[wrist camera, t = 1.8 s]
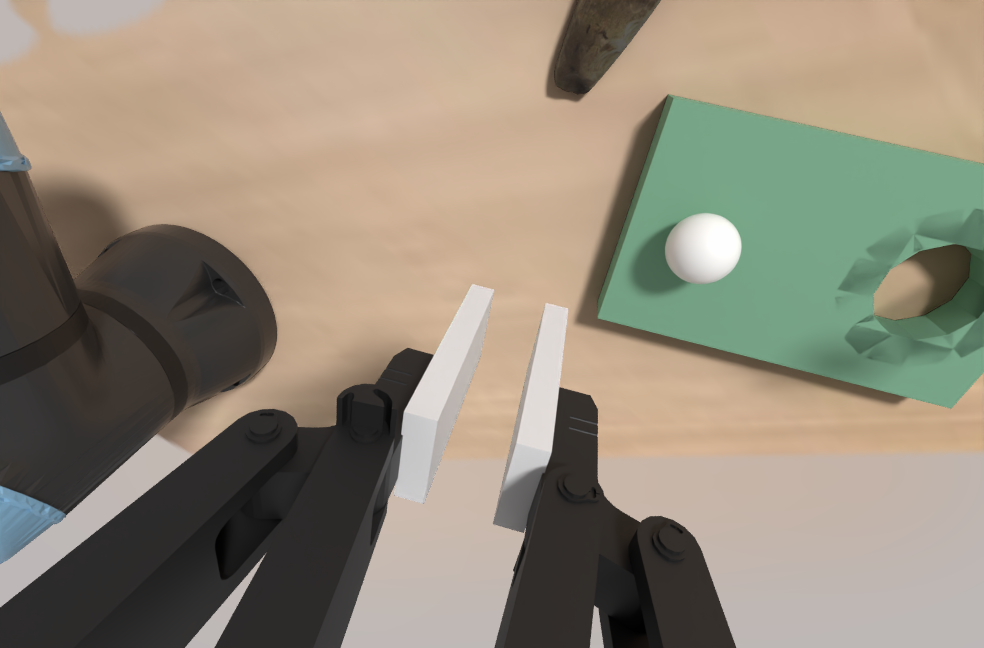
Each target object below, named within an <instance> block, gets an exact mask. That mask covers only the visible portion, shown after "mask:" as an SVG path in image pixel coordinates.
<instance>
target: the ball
mask: <svg viewBox="0 0 984 648" xmlns="http://www.w3.org/2000/svg"><path fill="white" fill-rule="evenodd" d="M741 248H742V247H741V238H740V235H739V233H738V231H737V229H736V228H735V226H734V225H733V224H732V223H731V222H730V221H728V220H727V219H725V218H724V217H722V216H719V215H716V214H711V213H700V214H695V215H692V216H689V217H687V218H685V219H683V220H682V221H680V222H679V223H678V224H677V225H676V226H675V227H674V228H673V229H672V230H671V232H670V234H669V236H668V238H667V241H666V245H665V257H666V261H667V263H668V266H669V267H670V269H671V270H672V272H673V273H674V274H675V275H677V276H678V277H679V278H681V279H682V280H684V281H687V282H690V283H694V284H708V283H712V282H715V281H718V280H720V279H722V278H723V277H725V276H726V275H728V274H729V273H730V272H731V271H732V270H733V269H734V267H735V266H736V264H737V263H738V260H739V258H740V254H741Z"/></svg>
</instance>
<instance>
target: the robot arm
mask: <svg viewBox="0 0 984 648" xmlns="http://www.w3.org/2000/svg"><path fill="white" fill-rule="evenodd" d="M31 168H32V167H31V164H30V162H29V160H28V158H26V157H25V156H24V155H22V154H21V153H20V151H19V149H18V147H17V145H16V143H15V141H14V138H13V136H12V134H11V132H10V130H9V128H8V126H7V124H6V122H5V120H4V118H3V116H2V114H1V112H0V564H1V563H3V562H4V561H6V560H8V559H10V558H11V557H12V556H13V555H15V554H16V553H17V552H18V551H20V550H21V549H22V548H24V547H25V546H26V545H28V544H29V543H30V542H31V541H33V540H34V539H35V538H36V537H38V536H39V535H40V534H41V533H43V532H44V531H45V530H47V529H48V528H49V527H50V526H52V525H53V524H57V523H59V522H61V521H62V520H63V518H64V517H66V515H67V514H68V513H69V512H70V511H72V510H73V509H74V508H75V507H76V506H77V505H78V504H79V503H80V502H82V501H83V500H84V499H85V498H86V497H87V496H88V495H89V494H90V493H92V492H93V491H94V490H95V489H96V488H97V487H98V486H99V485H100V484H101V483H102V482H104V481H105V480H106V479H107V478H108V477H109V476H110V475H111V474H112V473H114V472H115V471H116V470H117V469H118V468H119V467H120V466H121V465H123V464H124V463H125V462H126V461H127V460H128V459H129V458H130V457H131V456H132V455H134V454H135V453H136V452H137V451H138V450H139V449H140V448H141V447H142V446H144V445H145V444H146V443H147V442H148V441H149V440H150V439H151V438H152V437H154V436H155V435H156V434H157V433H158V432H159V431H160V430H161V429H162V428H163V427H165V426H166V425H167V424H168V423H169V422H170V421H171V420H172V419H174V418H175V417H176V416H177V415H178V414H179V413H181V412H182V411H183V410H184V409H187V408H189V407H191V406H194V405H196V404H198V403H201V402H203V401H205V400H207V399H209V398H211V397H213V396H215V395H217V394H218V393H220V392H225V391H228V390H231V389H234V388H236V387H238V386H240V385H242V384H244V383H245V382H247V381H248V380H249V379H251V378H252V377H253V376H254V375H255V374H256V373H257V372H258V371H259V370H260V369H261V368H262V367H263V366H264V365H265V364H266V363H267V362H268V361H269V359H270V358H271V356H272V354H273V352H274V349H275V345H276V338H277V328H276V320H275V316H274V312H273V309H272V306H271V304H270V301H269V299H268V297H267V295H266V293H265V291H264V289H263V288H262V286H261V285H260V283H259V281H258V280H257V279H256V277H255V276H254V275H253V273H252V272H251V271H250V270H249V269H248V268H247V266H246V265H245V264H244V263H243V262H242V261H241V260H240V259H239V258H238V257H236V256H235V255H234V254H233V253H232V252H231V251H229V250H228V249H227V248H225V247H224V246H223V245H221V244H220V243H218V242H217V241H215V240H213V239H211V238H210V237H208V236H206V235H204V234H202V233H199V232H197V231H194V230H191V229H188V228H185V227H181V226H176V225H166V224H161V225H152V226H147V227H144V228H141V229H139V230H136V231H134V232H131V233H129V234H126V235H124V236H122V237H120V238H118V239H116V240H115V241H113V242H112V243H110V244H109V245H108V246H107V247H106V248H105V249H104V250H103V252H102V253H101V254H100V255H99V256H98V258H97V259H96V260H95V261H94V262H93V263H92V264H91V265H90V266H88V267H87V268H86V269H85V270H84V271H83V272H82V273H81V274H80V275H79V276H78V277H77V278H75V279H74V280H73V279H72V276H71V274H70V272H69V269H68V267H67V265H66V262H65V260H64V257H63V255H62V253H61V250H60V248H59V246H58V243H57V241H56V239H55V236H54V234H53V232H52V229H51V227H50V225H49V222H48V220H47V218H46V215H45V213H44V211H43V208H42V206H41V204H40V201H39V199H38V196H37V194H36V191H35V189H34V186H33V184H32V181H31V179H30V177H29V174H28V172H27V170H30V169H31ZM493 295H494V290H493V289H489V288H485V287H482V286H478V285H474V284H472V286H471V287H470V289H469V291H468V293H467V295H466V297H465V299H464V301H463V302H462V304H461V306H460V308H459V310H458V312H457V314H456V315H455V317H454V319H453V321H452V323H451V325H450V327H449V328H448V330H447V332H446V334H445V336H444V338H443V340H442V342H441V343H440V345H439V347H438V349H437V351H436V353H435V355H432V354H428V353H424V352H421V351H417V350H413V349H409V348H407V349H405V350H403V351H402V352H400V353H398V354H397V355H395V356H394V357H393V358H392V360H391V361H390V363H389V364H388V366H387V368H386V369H385V370H384V372H383V374H382V375H381V377H380V379H379V380H378V381H377V383H376V384H375V385H374V384H361V385H355V386H352V387H350V388H348V389H346V390H344V391H343V392H342V393H341V394H340V395H339V396H338V397H337V422H336V425H335V426H331V427H322V428H309V427H297V423H296V421H295V419H294V417H292V416H291V415H289V414H288V413H286V412H284V411H280V410H276V409H262V410H258V411H254V412H251V413H248V414H246V415H245V416H243V417H241V418H240V419H238V420H237V421H235V422H234V423H233V424H232V425H230V426H229V427H228V428H227V429H225V430H224V431H223V432H222V433H220V434H219V435H218V436H216V437H215V438H214V439H213V440H211V441H210V442H209V443H208V444H206V445H205V446H204V447H203V448H201V449H200V450H199V451H198V452H196V453H195V454H194V455H192V456H191V457H190V458H189V459H187V460H186V461H185V462H184V463H182V464H181V465H180V466H179V467H177V468H176V469H175V470H174V471H172V472H171V473H170V474H169V475H167V476H166V477H165V478H164V479H162V480H161V481H160V482H158V483H157V484H156V485H155V486H153V487H152V488H151V489H149V490H148V491H147V492H146V493H145V494H143V495H142V496H141V497H140V498H138V499H137V500H136V501H135V502H133V503H132V504H131V505H129V506H128V507H127V508H125V509H124V510H123V511H122V512H120V513H119V514H118V515H117V516H115V517H114V518H113V519H112V520H110V521H109V522H108V523H107V524H105V525H104V526H103V527H102V528H100V529H99V530H98V531H96V532H95V533H94V534H93V535H91V536H90V537H89V538H88V539H87V540H85V541H84V542H82V543H81V544H80V545H79V546H77V547H76V548H75V549H74V550H72V551H71V552H70V553H69V554H67V555H66V556H65V557H64V558H62V559H61V560H60V561H58V562H57V563H56V564H55V565H53V566H52V567H51V568H50V569H48V570H47V571H46V572H45V573H43V574H42V575H41V576H40V577H38V578H37V579H36V580H34V581H33V582H32V583H31V584H29V585H28V586H27V587H26V588H24V589H23V590H22V591H21V592H19V593H18V594H17V595H15V596H14V597H13V598H12V599H10V600H9V601H8V602H7V603H5V604H4V605H3V606H2V607H0V648H185V647H186V646H187V644H188V643H189V642H190V641H191V640H192V638H193V637H194V636H195V635H196V634H197V633H198V632H199V630H200V629H201V628H202V627H203V626H204V625H205V623H206V622H207V621H208V620H209V619H210V618H211V616H212V615H213V614H214V613H215V612H216V611H217V609H218V608H219V607H220V606H221V605H222V604H223V603H224V601H225V600H226V599H227V598H228V596H230V594H231V593H232V592H233V591H234V590H235V588H236V587H237V586H238V585H239V584H240V583H241V582H242V580H243V579H244V578H245V577H246V576H247V575H248V573H249V572H250V571H251V570H252V569H253V568H254V566H255V565H256V564H257V563H258V562H259V561H260V559H261V558H262V557H263V556H264V555H265V554H266V555H265V557H264V558H263V560H262V562H261V564H260V566H259V568H258V570H257V572H256V573H255V575H254V577H253V579H252V581H251V582H250V584H249V586H248V588H247V589H246V591H245V593H244V595H243V597H242V599H241V601H240V602H239V604H238V606H237V608H236V610H235V611H234V613H233V615H232V617H231V619H230V620H229V623H228V624H227V626H226V628H225V630H224V631H223V633H222V635H221V637H220V639H219V641H218V642H217V644H216V646H215V648H340V647H341V644H342V641H343V638H344V636H345V633H346V630H347V627H348V624H349V621H350V618H351V615H352V612H353V609H354V606H355V604H356V601H357V597H358V595H359V591H360V589H361V586H362V583H363V580H364V577H365V574H366V571H367V569H368V566H369V563H370V559H371V557H372V554H373V551H374V548H375V545H376V542H377V539H378V536H379V533H380V530H381V528H382V525H383V522H384V519H385V516H386V513H387V504H388V503H387V502H388V498H389V496H390V494H391V492H392V490H393V488H394V485H395V492H394V495H395V496H398V497H402V498H405V499H409V500H412V501H416V502H419V503H423V504H424V502H425V500H426V497H427V495H428V492H429V489H430V487H431V484H432V481H433V479H434V476H435V474H436V471H437V469H438V466H439V463H440V461H441V458H442V456H443V453H444V450H445V448H446V445H447V443H448V440H449V437H450V435H451V432H452V430H453V427H454V424H455V422H456V419H457V416H458V414H459V411H460V409H461V406H462V403H463V401H464V398H465V396H466V393H467V390H468V388H469V385H470V383H471V380H472V377H473V375H474V372H475V370H476V367H477V364H478V362H479V359H480V357H481V352H482V347H483V342H484V338H485V333H486V328H487V323H488V318H489V314H490V309H491V304H492V299H493ZM567 317H568V308H564V307H560V306H556V305H552V304H548V303H546V304H545V307H544V311H543V315H542V318H541V322H540V326H539V329H538V333H537V336H536V340H535V344H534V347H533V351H532V354H531V358H530V362H529V365H528V369H527V373H526V378H525V382H524V387H523V391H522V396H521V400H520V405H519V409H518V414H517V418H516V423H515V427H514V432H513V436H512V441H511V445H510V450H509V454H508V459H507V463H506V468H505V473H504V477H503V481H502V486H501V490H500V495H499V499H498V504H497V508H496V513H495V517H494V522H493V524H495V525H498V526H502V527H505V528H509V529H512V530H516V531H519V532H523V533H524V530H525V528H526V532H525V538H524V541H523V544H522V547H521V550H520V553H519V555H518V558H517V561H516V564H515V567H514V569H513V571H514V576H513V579H512V583H511V587H510V591H509V595H508V598H507V602H506V606H505V610H504V614H503V617H502V621H501V625H500V629H499V632H498V636H497V640H496V644H495V648H590V638H591V628H592V618H593V609H594V605H595V606H596V607H597V608H599V615H600V623H601V630H602V637H603V644H604V648H736V646H735V643H734V640H733V638H732V635H731V632H730V629H729V626H728V624H727V621H726V618H725V615H724V612H723V609H722V607H721V604H720V601H719V598H718V595H717V593H716V590H715V587H714V584H713V581H712V579H711V576H710V573H709V570H708V567H707V565H706V562H705V559H704V556H703V553H702V551H701V548H700V546H699V545H698V543H697V541H696V539H695V537H693V535H692V534H691V533H690V532H689V531H687V529H686V528H685V527H683V526H682V525H680V524H679V523H677V522H675V521H674V520H671V519H668V518H665V517H662V516H650V517H648V518H646V519H644V520H642V521H641V522H639V521H637V520H635V519H634V518H632V517H630V516H628V515H627V514H625V513H623V512H622V511H620V510H619V509H617V508H616V507H614V506H613V505H612V504H611V503H610V502H609V501H608V500H607V499H606V497H605V496H604V493H603V490H602V488H601V486H600V485H599V483H598V477H597V475H598V473H597V472H598V471H597V469H598V468H597V464H598V437H597V435H598V426H597V424H598V409H597V407H596V405H595V403H594V401H593V399H592V398H591V396H590V395H586V394H583V393H579V392H575V391H571V390H568V389H564V388H560V387H559V385H560V377H561V368H562V360H563V351H564V342H565V334H566V325H567Z"/></svg>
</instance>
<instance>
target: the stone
mask: <svg viewBox="0 0 984 648" xmlns="http://www.w3.org/2000/svg"><path fill="white" fill-rule="evenodd" d="M660 1H661V0H578V2H577V5H576V8H575V10H574V13H573V16H572V19H571V21H570V24H569V27H568V30H567V33H566V36H565V39H564V42H563V45H562V48H561V51H560V54H559V57H558V61H557V64H556V67H555V71H554V79H555V83H556V86H558V87H559V88H561V89H563V90H565V91H568V92H573V93H576V94H584V93H587V92H589V91H590V89H591V88H592V87H593V86H594V85H595V84H596V83H597V81H598V80H599V79H600V78H601V77H602V76H603V75H604V74H605V72H606V71H607V70H608V69H609V68H610V66H611V65H612V64H613V63H614V62H615V60H616V59H617V58H618V57H619V56H620V54H621V53H622V52H623V50H624V49H625V48H626V47H627V45H628V44H629V43H630V42H631V40H632V39H633V38H634V36H635V35H636V34H637V32H638V31H639V30H640V28H641V27H642V26H643V24H644V23H645V22H646V20H647V19H648V18H649V16H650V15H651V13H652V12H653V11H654V9H655V8H656V6H657V5H658V4H659V2H660Z"/></svg>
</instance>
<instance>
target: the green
mask: <svg viewBox="0 0 984 648" xmlns="http://www.w3.org/2000/svg"><path fill="white" fill-rule="evenodd" d="M700 213H711V214H716V215H719V216H722V217H724V218H725V219H727V220H728V221H730V222H731V223H732V224H733V225H734V226H735V228H736V229H737V231H738V233H739V235H740V238H741V247H742V248H741V254H740V258H739V260H738V263H737V264H736V266H735V267H734V269H733V270H732V271H731V272H730V273H729V274H728V275H726V276H725V277H723V278H722V279H720V280H718V281H715V282H712V283H708V284H694V283H690V282H687V281H684V280H682V279H681V278H679V277H678V276H677V275H675V274H674V273H673V272H672V270H671V269H670V267H669V266H668V263H667V261H666V257H665V245H666V241H667V238H668V236H669V234H670V232H671V230H672V229H673V228H674V227H675V226H676V225H677V224H678V223H679V222H680V221H682V220H683V219H685V218H687V217H689V216H692V215H695V214H700ZM951 244H958V245H962V246H965V247H966V248H967V249H968V251H969V252H970V253H971V260H970V272H969V278H968V279H967V281H966V282H965V283H964V285H963V286H962V287H961V288H960V290H959V291H958V292H957V294H956V295H955V296H954V297H953V299H952V300H951V301H949V302H947V303H945V304H944V305H942V306H940V307H938V308H937V309H935V310H933V311H931V312H930V313H928V314H926V315H924V316H918V317H912V318H907V319H901V320H891V319H887V318H883V317H879V316H875V315H874V293H875V291H876V290H877V288H878V287H879V285H880V284H881V282H882V281H883V279H884V278H885V276H886V275H887V274H888V272H889V271H890V269H892V268H893V267H895V266H897V265H898V264H900V263H901V262H903V261H905V260H906V259H908V258H909V257H911V256H912V255H914V254H916V253H917V252H919V251H922V250H927V249H932V248H937V247H942V246H946V245H951ZM597 318H598V319H602V320H606V321H610V322H614V323H618V324H622V325H626V326H630V327H633V328H637V329H641V330H645V331H649V332H653V333H657V334H661V335H665V336H669V337H673V338H677V339H680V340H684V341H688V342H692V343H696V344H700V345H704V346H708V347H712V348H716V349H720V350H724V351H728V352H731V353H735V354H739V355H743V356H747V357H751V358H755V359H759V360H763V361H767V362H771V363H775V364H778V365H782V366H786V367H790V368H794V369H798V370H802V371H806V372H810V373H814V374H818V375H822V376H825V377H829V378H833V379H837V380H841V381H845V382H849V383H853V384H857V385H861V386H865V387H869V388H872V389H876V390H880V391H884V392H888V393H892V394H896V395H900V396H904V397H908V398H912V399H916V400H920V401H923V402H927V403H931V404H935V405H939V406H943V407H947V408H952V407H953V406H954V405H955V404H956V403H957V402H958V400H959V399H960V398H961V397H962V396H963V395H964V394H965V393H966V392H967V390H968V389H969V388H970V387H971V386H972V385H973V384H974V383H975V382H976V380H977V379H978V378H979V377H980V376H981V375H982V374H983V373H984V164H982V163H978V162H973V161H969V160H964V159H960V158H955V157H950V156H946V155H941V154H937V153H932V152H928V151H923V150H919V149H914V148H910V147H905V146H900V145H896V144H891V143H887V142H882V141H878V140H873V139H869V138H864V137H860V136H855V135H850V134H846V133H841V132H837V131H832V130H828V129H823V128H819V127H814V126H810V125H805V124H800V123H796V122H791V121H787V120H782V119H778V118H773V117H769V116H764V115H760V114H755V113H750V112H746V111H741V110H737V109H732V108H728V107H723V106H719V105H714V104H710V103H705V102H700V101H696V100H691V99H687V98H682V97H678V96H673V95H669V94H668V96H667V99H666V102H665V105H664V108H663V111H662V114H661V117H660V120H659V123H658V126H657V129H656V132H655V135H654V137H653V140H652V143H651V146H650V149H649V152H648V155H647V158H646V161H645V164H644V167H643V170H642V173H641V176H640V179H639V182H638V185H637V187H636V190H635V193H634V196H633V199H632V202H631V205H630V208H629V211H628V214H627V217H626V220H625V223H624V226H623V229H622V232H621V235H620V237H619V240H618V243H617V246H616V249H615V252H614V255H613V258H612V261H611V264H610V267H609V270H608V273H607V276H606V279H605V282H604V285H603V287H602V290H601V293H600V296H599V299H598V313H597Z"/></svg>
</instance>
